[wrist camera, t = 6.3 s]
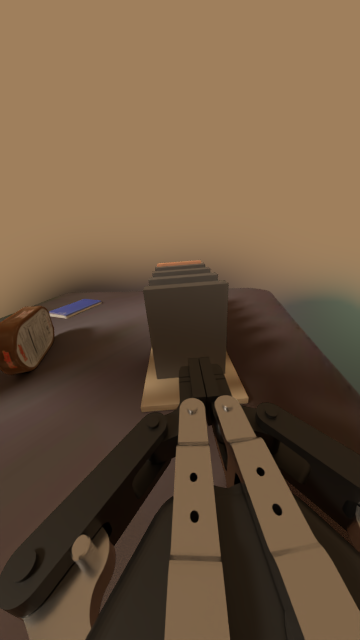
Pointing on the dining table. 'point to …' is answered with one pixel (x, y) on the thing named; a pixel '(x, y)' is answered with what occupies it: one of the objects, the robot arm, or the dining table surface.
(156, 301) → the domino
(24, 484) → the dining table surface
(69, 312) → the blue notebook
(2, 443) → the dining table surface
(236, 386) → the board
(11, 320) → the tin
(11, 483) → the dining table surface
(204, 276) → the domino
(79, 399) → the dining table surface
